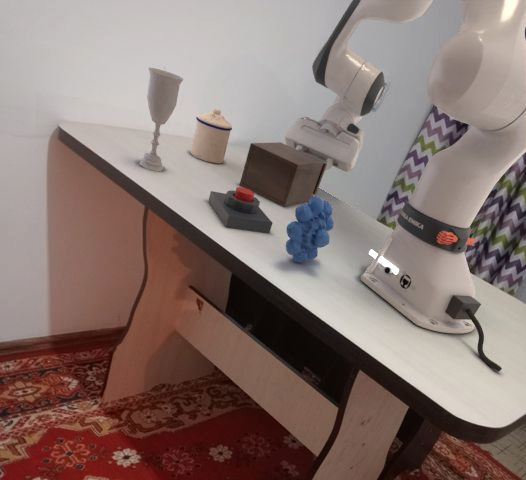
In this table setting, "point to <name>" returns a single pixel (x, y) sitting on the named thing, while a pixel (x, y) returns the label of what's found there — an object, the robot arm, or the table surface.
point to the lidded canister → (211, 137)
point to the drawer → (320, 178)
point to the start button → (244, 194)
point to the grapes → (309, 229)
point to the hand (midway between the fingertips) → (306, 168)
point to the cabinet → (280, 173)
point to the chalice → (160, 109)
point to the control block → (239, 212)
